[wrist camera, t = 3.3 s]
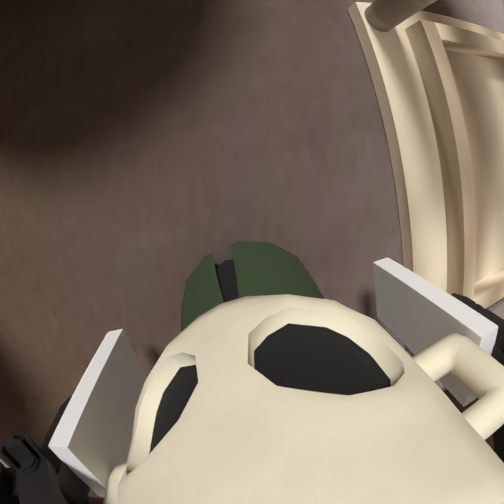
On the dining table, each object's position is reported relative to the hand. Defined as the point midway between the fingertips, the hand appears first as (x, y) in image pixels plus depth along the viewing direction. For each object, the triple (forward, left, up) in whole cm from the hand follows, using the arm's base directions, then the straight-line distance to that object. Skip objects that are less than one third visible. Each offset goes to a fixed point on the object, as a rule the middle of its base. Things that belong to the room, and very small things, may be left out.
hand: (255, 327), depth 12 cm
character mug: (0, 0, -3) cm, 3 cm away
